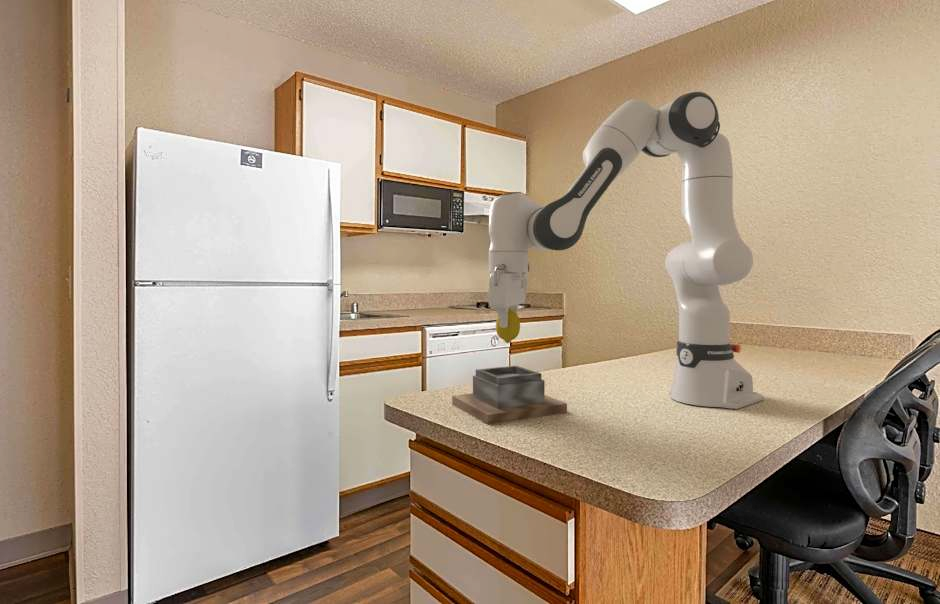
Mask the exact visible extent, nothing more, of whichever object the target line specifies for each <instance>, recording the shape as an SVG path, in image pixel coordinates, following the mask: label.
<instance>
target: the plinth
mask: <svg viewBox="0 0 940 604" xmlns="http://www.w3.org/2000/svg"><path fill="white" fill-rule="evenodd" d="M545 386H546V385H545V380H544V379H542V373H540V372H537V371H535V370H532V369H528V368H524V367H521V366H518V365H509V366H508V365H507V366H498V367H488V368H477V369H475V374H474V375H472V392H471V393H464V394H457V395H456V394H455V395H451V397H452V398H451V399H452V400H451V405H454V406H455V407H456V408H458V409H460V410H462V411H464V412H466V413H467V414H469V415H471V416H473V418H474V417H475V419H478V420H479V421H481V422H483V423H484V424H486V425H492V424H500V423H507V422H512V421H520V420H526V419H533V418H539V417H546V416H552V415H558V414H563V413H564V414H565V413H567V412H568V403H566V402H563V400H558V399H556V398H553V397H551V396H548V395H546V394H545Z"/></svg>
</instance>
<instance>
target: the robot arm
mask: <svg viewBox="0 0 940 604" xmlns="http://www.w3.org/2000/svg"><path fill="white" fill-rule="evenodd" d="M719 115H720V114H719V111H718V106H717V105H716V103H715V101H714V99H713V98H712V97H711V96H710V95H709V94H707V93H706V92H702V91H693V92H692V91H691V92H687V93H684V94H682V95H680V96H678V97H677V98H676V99H674V100H672V101H670V102H667V103H666V104H664V105H662V106H661V107H660V108H659V109H656V108H654V107H653V106H652V105H651V104H650V103H648V101H645V100H643V99H639V98H633V99H629V100H627V101H625V102H624V103H622V104H621V105H620V106H619V107H618V108H617V109H615V111H613V112H612V113H611V114H610V115H609V116H608V117H607V118H606V120H604V121H603V122H602V123H601V125H600V126H599V127H598V128H597V129H596V131H595V132H594V133H593V135H591V137H590V139H589V140H588V142H587V143H586V145H585V148H584V149H583V151H582V160H583V164H584V166H585V167H584V169H583V171H582V172H581V173H580V175H579V176H578V177H577V178H576V180H575V181H574V183H573V184H572V185H571V186H570V188H569V189H568V190H567V191H566V193H565V194H564V195H563V196H562V197H561V198H558V199H556V200H553V201H551V202H550V203H548V204H546V205H543V204H541V203H538V202H536V201H535V200H533V199H532V198H530V197H528V196H527V195H526V194H525V193H524V192H522V191H511V192H507V193H503V194H499V195H498V196H497V197H495V198H494V199H493V200H492V201H491V203H490V207H489V217H488V236H489V239H490V245H489V248H488V273H490V275H489V281H488V282H489V283H488V294H487V295H488V296H487V297H488V306H489V308H490V309H497V312H496V313H497V317H498V316H499V326H500V327H501V328H506V327H508V326H509V319H508V308H509V309H510V310H512V311H514V312H515V313H516V314H517V315H518V312H519V305H521V304H525V302H526V299H527V298H526V297H527V290H528V289H527V288H528V287H527V286H528V274H530V271H531V270H530V269H531V268H530V267H531V266H530V263H529V258H528V257H529V253H528V252H529V250H528V249H534V250H537V251H541V252H547V251H566V250H567V249H570V248H572V247H573V246H574V245H576V244H577V243H578V242H579V240H580V239H581V236H582V235H583V232H584V228H585V225H586V221H587V218H588V216H589V214H590V212H591V211H592V209H593V208H594V207H595V206H596V205H597V202H598V201H599V200H600V199H601V197H602V196H603V195H604V194H605V192H606V191H607V190H608V188H609V187H610V186H611V184H612V183H613V182H614V181H615V180H616V179H617V178H618V177H619V176H621V175H622V174H623V173H624V172H625V171H626V170H627V168H628V167H629V166H631V164H632V163H633V162H634V161H635V159H636V158H637V157H638V156H639V154H640V153H641V152H642V153H644V154H645V155H648V156H649V157H653V158H664V157H668V156H670V155H671V154H675V153H676V154H677V155H678V157H679V160H680V163H681V167H682V168H681V169H682V171H681V184H680V185H681V193H680V194H681V195H680V197H681V198H680V203H681V204H680V213H681V217H682V218H683V220H685V221H686V223H687V226H688V228H689V232H690V236H691V240H690V241H685V242H682V243H681V244H678V245H677V246H675V247H673V248H672V249H671V250H669V252H668V253H667V255H666V257H665V260H664V266H665V271H666V272H667V275H669V277H670V279H671V281H672V284H673V287H674V291H675V296H676V301H677V306H678V340H677V341H676V346H675V349H676V356H677V360H676V361H675V363H674V364H675V365H674V371H673V379H672V386H671V387H670V388H669V393H670V398H671V399H672V400H675V401H676V402H679V403H683V404H687V405H692V406H698V407H699V406H701V407H708V408H710V407H711V408H723V409H724V408H725V409H735V410H736V409H737V410H738V409H741V408H744V407H748V406H749V405H753V404H756V403H758V402H761V401H764V400H765V395H763V394H761V393H758V392H757V391H754V389H753V388H754V382H753V376H752V374H751V373H750V372H749V371H748V370H747V369H745V368H744V367H743V366H742V365H741V364H740V363H739V362H738V361H737V360H736V359H735V355H734V353H737V354H738V353H741V351H742V346H741V344H739V343H738V344H736V343H730V323H731V322H730V321H731V319H730V316H731V314H730V313H731V312H730V310H729V308H728V305H726V303H725V302H724V300H723V298H722V295H721V292H720V289H719V286H726V285H730V284H734V283H736V282H737V283H738V282H740V281H742V280H743V279H745V278H746V277H747V276H748V275H749V274H750V272H751V271H752V268H753V264H754V256H753V252H752V250H751V248H750V246H748V245H747V243H745V242H744V240H743V239H742V238H741V236H740V233H739V229H738V228H737V224H736V221H735V217H734V208H733V206H734V204H733V201H734V200H733V193H734V191H733V186H734V185H733V183H734V182H733V181H734V179H733V178H734V170H733V158H732V152H731V145H730V142H729V140H728V137H726V135H724V134H722V133H720V129H721V128H720V127H721V123H720V118H719V117H720V116H719Z"/></svg>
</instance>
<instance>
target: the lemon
mask: <svg viewBox="0 0 940 604" xmlns="http://www.w3.org/2000/svg"><path fill="white" fill-rule="evenodd" d="M508 319H509V326H508V327H506V328H501V327H500V326H499V316H498V315H497V318H496V321H495V330H496V333H497V336H498V337H499V339H501V340H503V341H504V342H505V343H506V344H510V343H511V342H512V341H513V340H515V339H516V338H517V337H518V336H519V334H520V331H521V330H520V329H521V321H520V318H519V316H518V313H517V314H516V313H515V312H514V311H512V310H510V309H509V308H508Z"/></svg>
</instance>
